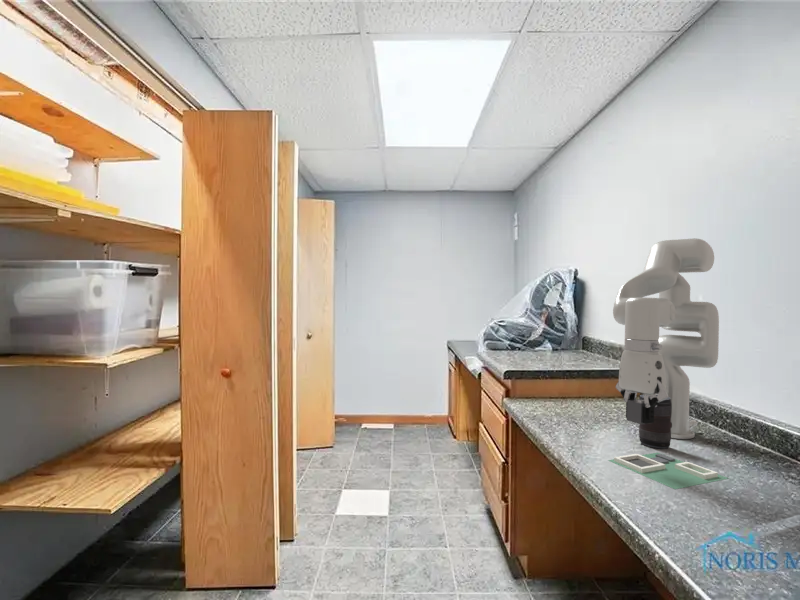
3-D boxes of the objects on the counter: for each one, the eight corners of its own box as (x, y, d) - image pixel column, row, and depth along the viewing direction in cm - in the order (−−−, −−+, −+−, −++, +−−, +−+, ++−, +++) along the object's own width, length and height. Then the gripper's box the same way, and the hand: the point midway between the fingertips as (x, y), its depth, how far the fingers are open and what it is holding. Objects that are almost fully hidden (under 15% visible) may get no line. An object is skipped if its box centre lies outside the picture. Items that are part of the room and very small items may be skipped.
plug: (638, 419, 111) (638, 397, 111) (652, 423, 107) (653, 400, 107) (626, 420, 109) (627, 397, 109) (640, 424, 105) (641, 401, 106)
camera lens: (643, 442, 130) (644, 392, 130) (674, 449, 124) (675, 397, 124) (634, 448, 124) (635, 396, 124) (666, 456, 119) (667, 401, 119)
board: (657, 456, 118) (657, 448, 118) (728, 483, 101) (729, 473, 101) (607, 464, 111) (607, 456, 111) (674, 494, 94) (675, 484, 94)
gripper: (684, 350, 102) (682, 428, 102) (624, 343, 117) (622, 411, 117) (661, 350, 99) (659, 431, 99) (603, 343, 115) (601, 413, 114)
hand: (639, 419), depth 108 cm, fingers closed on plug, 4 cm apart
